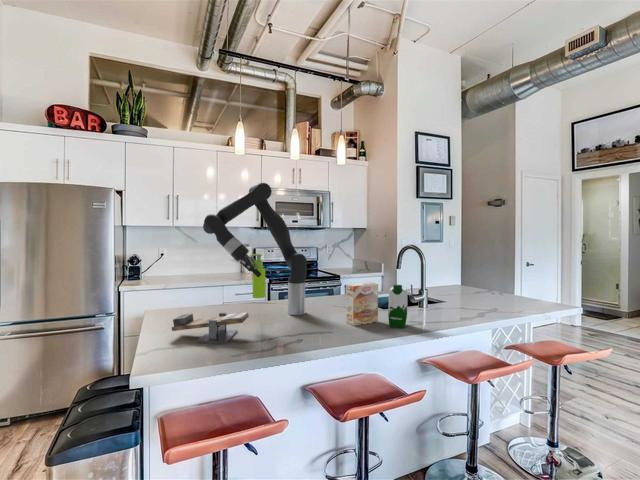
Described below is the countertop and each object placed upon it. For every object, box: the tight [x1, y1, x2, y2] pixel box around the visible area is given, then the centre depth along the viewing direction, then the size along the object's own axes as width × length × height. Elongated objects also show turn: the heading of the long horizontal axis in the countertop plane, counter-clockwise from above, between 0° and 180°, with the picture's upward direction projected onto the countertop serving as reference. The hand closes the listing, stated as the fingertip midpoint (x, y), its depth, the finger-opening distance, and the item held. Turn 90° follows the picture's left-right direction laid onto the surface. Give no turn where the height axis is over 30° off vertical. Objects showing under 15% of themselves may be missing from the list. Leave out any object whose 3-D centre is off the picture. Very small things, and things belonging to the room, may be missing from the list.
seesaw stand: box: [196, 312, 238, 345], centre depth 148 cm, size 12×16×9 cm
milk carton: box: [387, 284, 408, 329], centre depth 168 cm, size 9×9×20 cm
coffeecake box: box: [345, 281, 379, 327], centre depth 173 cm, size 15×7×20 cm, turn 117°
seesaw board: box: [171, 311, 250, 332], centre depth 148 cm, size 30×10×5 cm, turn 86°
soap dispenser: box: [249, 253, 266, 299], centre depth 161 cm, size 6×7×20 cm
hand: (261, 274), depth 161 cm, fingers closed on soap dispenser, 6 cm apart
